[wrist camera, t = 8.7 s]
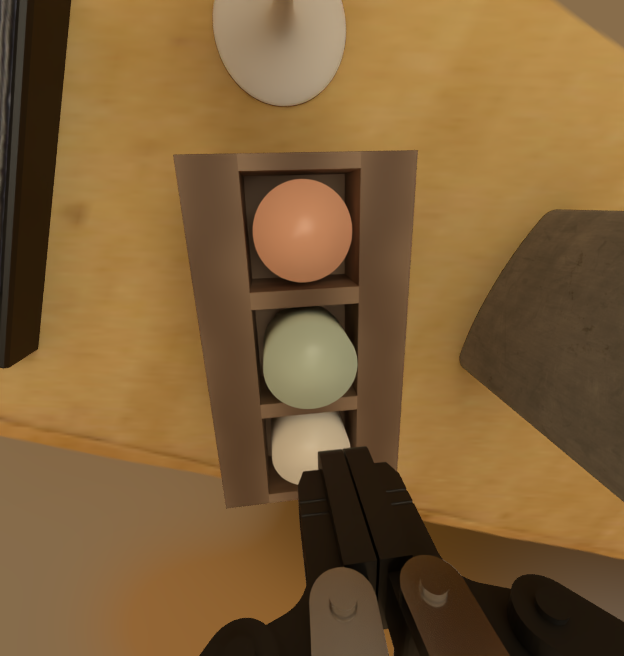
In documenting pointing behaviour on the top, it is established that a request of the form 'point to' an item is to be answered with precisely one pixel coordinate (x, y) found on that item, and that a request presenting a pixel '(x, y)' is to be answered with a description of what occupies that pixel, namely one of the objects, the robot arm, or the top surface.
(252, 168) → the three egg wooden crate
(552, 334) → the hip flask
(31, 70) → the food platter
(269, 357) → the pale green egg
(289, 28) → the white bowl
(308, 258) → the orange brown egg
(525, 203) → the top surface
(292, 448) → the pale beige egg
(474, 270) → the top surface
